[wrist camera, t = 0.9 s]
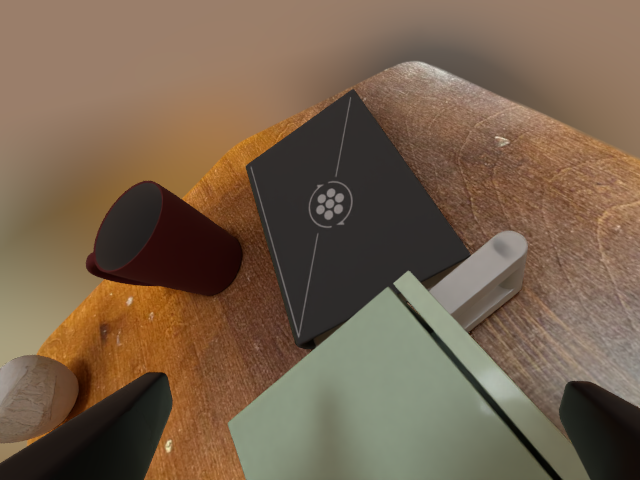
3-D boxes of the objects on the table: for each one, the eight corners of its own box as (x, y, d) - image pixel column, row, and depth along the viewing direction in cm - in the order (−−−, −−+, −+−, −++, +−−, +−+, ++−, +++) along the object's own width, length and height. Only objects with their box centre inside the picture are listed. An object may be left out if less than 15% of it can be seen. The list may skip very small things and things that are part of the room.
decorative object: (81, 439, 36) (-38, 451, 29) (39, 437, 40) (-77, 447, 32) (103, 356, 40) (3, 347, 32) (63, 361, 44) (-35, 354, 36)
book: (258, 181, 40) (242, 167, 37) (363, 108, 36) (353, 88, 34) (311, 352, 28) (292, 347, 25) (475, 268, 24) (471, 254, 22)
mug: (171, 327, 37) (65, 307, 28) (168, 263, 42) (76, 228, 33) (254, 279, 34) (164, 239, 25) (240, 216, 39) (161, 163, 30)
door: (499, 265, 23) (495, 195, 15) (791, 512, 14) (1198, 679, 6) (431, 321, 24) (392, 283, 16) (668, 591, 15) (875, 841, 6)
